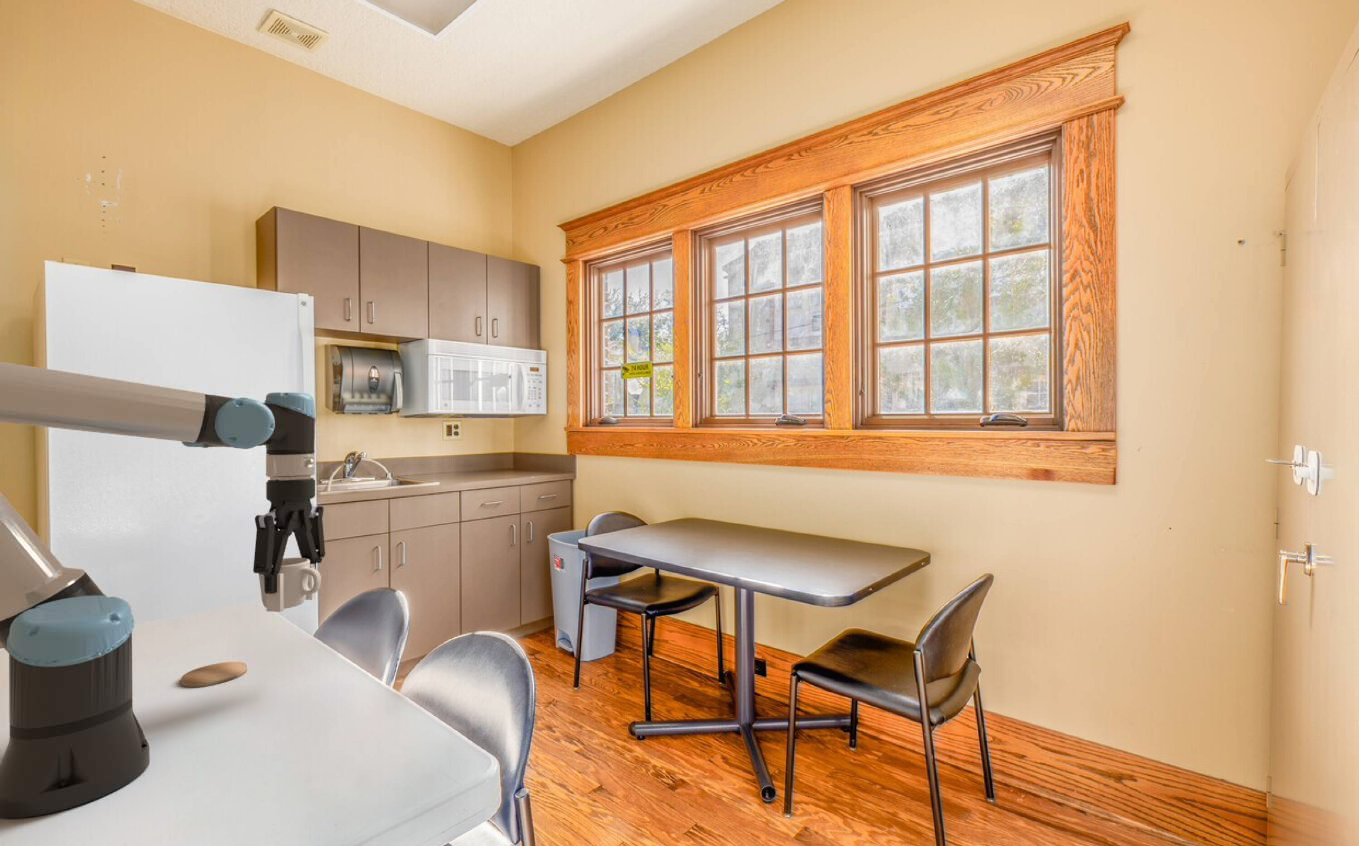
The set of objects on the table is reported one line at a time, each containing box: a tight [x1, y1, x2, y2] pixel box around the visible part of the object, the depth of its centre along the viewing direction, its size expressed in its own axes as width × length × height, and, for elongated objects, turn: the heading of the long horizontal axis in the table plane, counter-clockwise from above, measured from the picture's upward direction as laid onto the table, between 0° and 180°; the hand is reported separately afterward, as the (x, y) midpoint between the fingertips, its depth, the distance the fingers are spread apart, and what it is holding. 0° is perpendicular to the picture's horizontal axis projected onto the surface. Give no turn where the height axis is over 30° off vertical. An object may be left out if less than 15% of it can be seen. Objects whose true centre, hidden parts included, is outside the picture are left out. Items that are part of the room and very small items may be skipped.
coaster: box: [180, 661, 248, 688], centre depth 117 cm, size 10×10×1 cm
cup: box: [258, 557, 322, 610], centre depth 112 cm, size 11×8×8 cm
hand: (291, 604), depth 112 cm, fingers closed on cup, 7 cm apart
